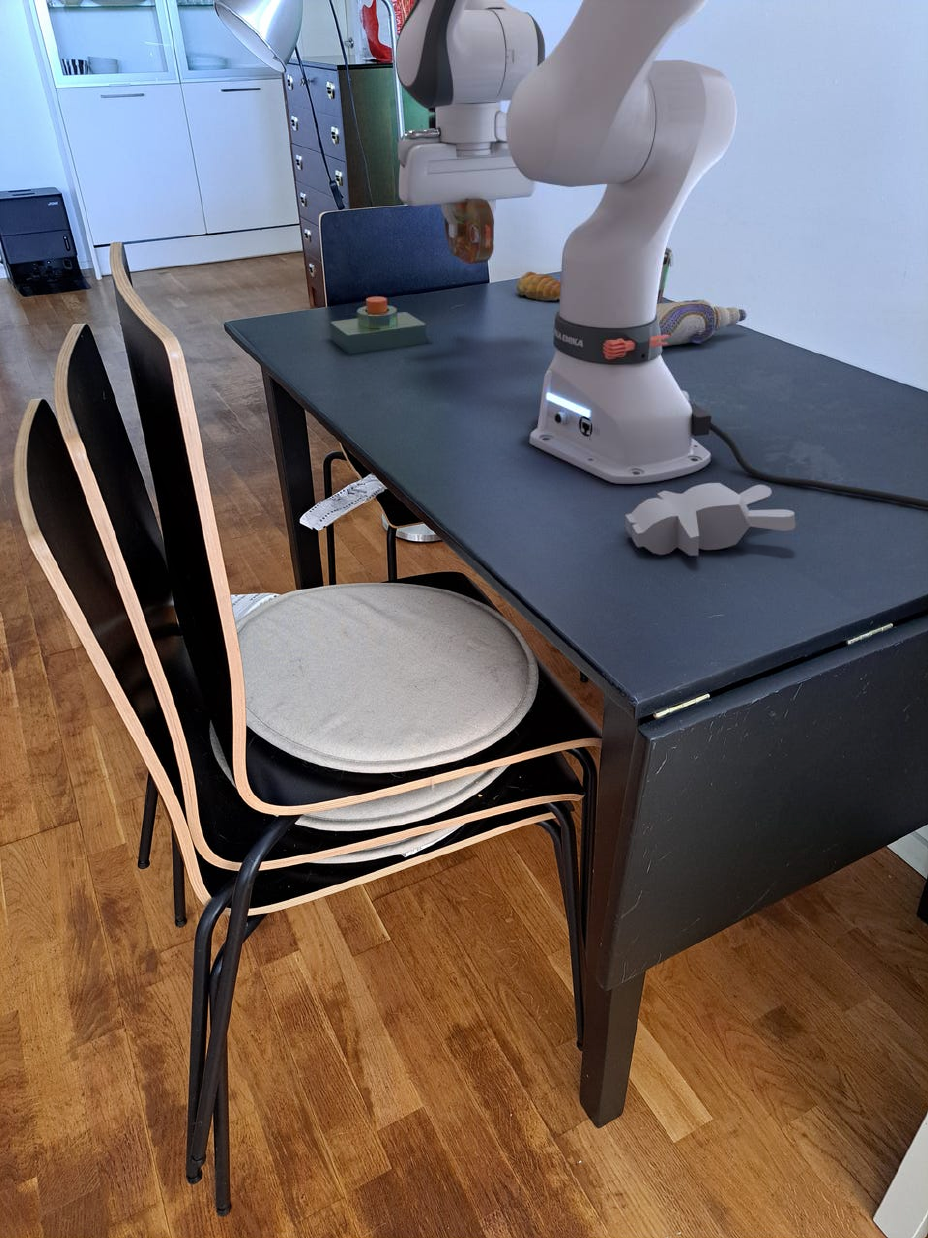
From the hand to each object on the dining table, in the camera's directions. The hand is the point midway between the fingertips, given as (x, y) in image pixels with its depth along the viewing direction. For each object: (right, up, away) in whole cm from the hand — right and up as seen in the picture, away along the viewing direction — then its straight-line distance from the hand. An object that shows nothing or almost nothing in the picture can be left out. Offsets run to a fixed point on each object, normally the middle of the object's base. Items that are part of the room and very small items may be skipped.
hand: (469, 235), depth 128 cm
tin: (0, -3, +2) cm, 3 cm away
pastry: (+14, +5, +37) cm, 39 cm away
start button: (-14, -7, +11) cm, 19 cm away
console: (-14, -11, +13) cm, 23 cm away
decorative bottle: (+32, -13, +11) cm, 36 cm away
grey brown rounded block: (+31, 0, +31) cm, 43 cm away
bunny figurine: (+23, -48, -41) cm, 67 cm away
